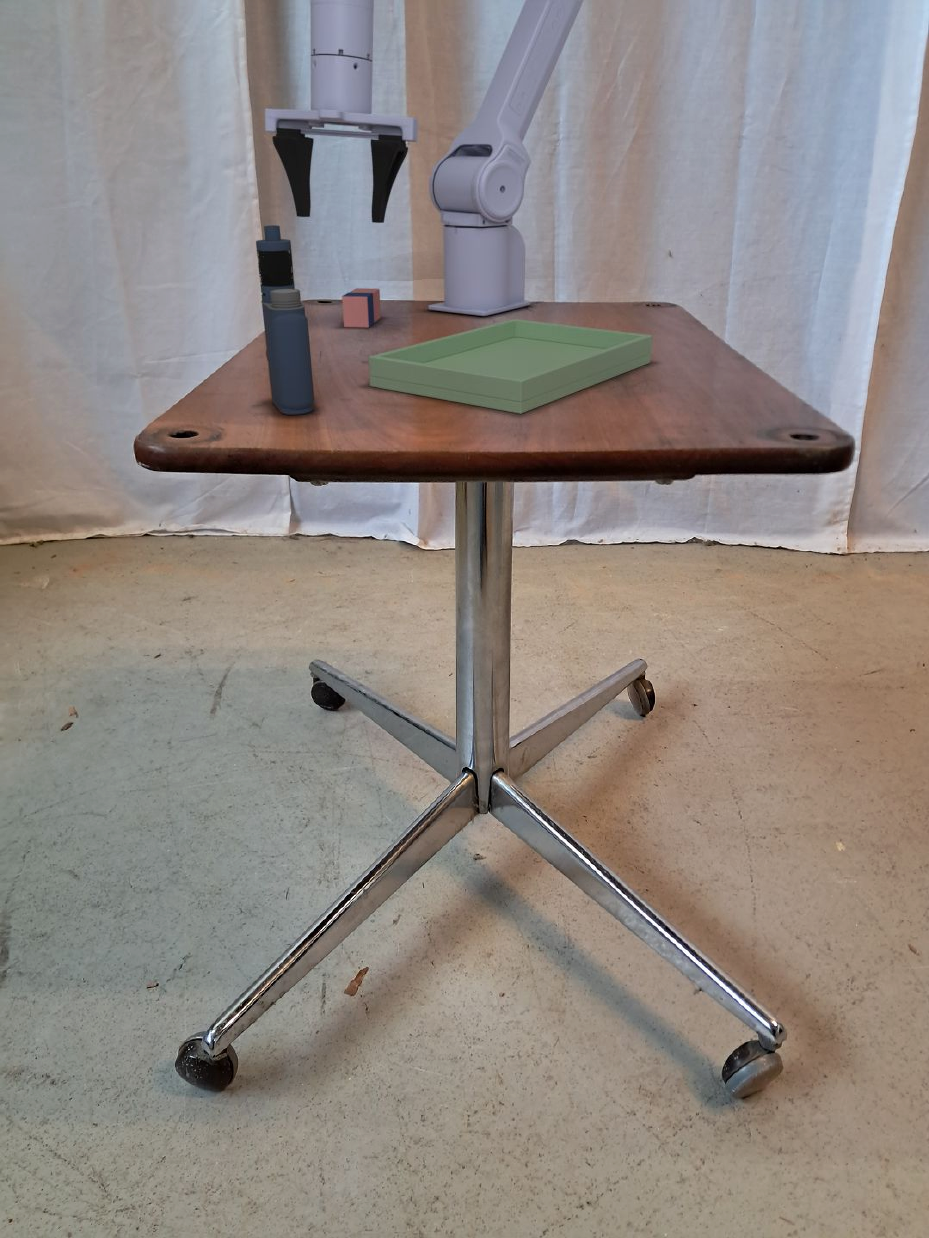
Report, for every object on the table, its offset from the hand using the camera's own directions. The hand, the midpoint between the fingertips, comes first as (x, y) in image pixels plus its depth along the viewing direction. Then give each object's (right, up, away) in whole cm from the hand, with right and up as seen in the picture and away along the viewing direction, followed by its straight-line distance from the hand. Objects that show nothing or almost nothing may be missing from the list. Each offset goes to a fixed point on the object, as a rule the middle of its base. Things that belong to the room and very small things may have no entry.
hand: (340, 220), depth 90 cm
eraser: (+2, -8, +6) cm, 10 cm away
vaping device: (0, -24, -24) cm, 34 cm away
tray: (+17, -19, -15) cm, 30 cm away
